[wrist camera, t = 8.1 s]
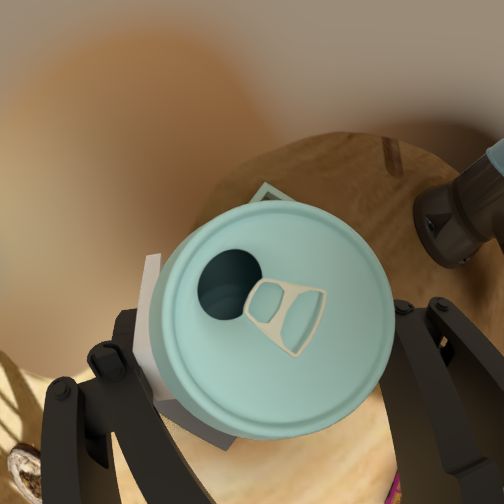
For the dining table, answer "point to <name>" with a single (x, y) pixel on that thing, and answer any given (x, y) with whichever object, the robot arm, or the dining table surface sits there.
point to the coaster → (193, 423)
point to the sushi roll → (26, 471)
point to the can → (272, 321)
